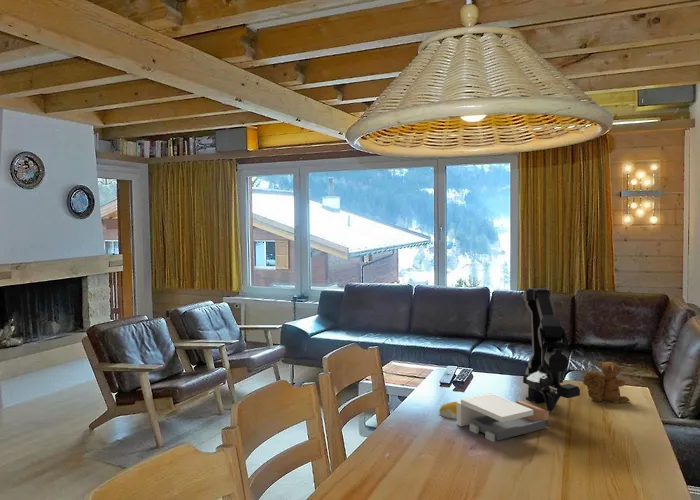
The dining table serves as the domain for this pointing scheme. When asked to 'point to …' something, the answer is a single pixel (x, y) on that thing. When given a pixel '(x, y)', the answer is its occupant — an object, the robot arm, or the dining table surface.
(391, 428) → the dining table surface
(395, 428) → the dining table surface
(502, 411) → the overhang shelf
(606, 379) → the stuffed squirrel
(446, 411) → the bread roll
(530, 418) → the tray
